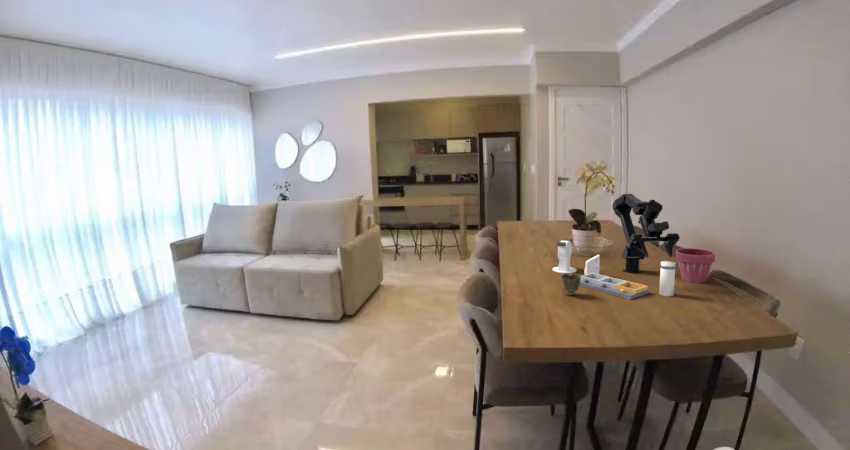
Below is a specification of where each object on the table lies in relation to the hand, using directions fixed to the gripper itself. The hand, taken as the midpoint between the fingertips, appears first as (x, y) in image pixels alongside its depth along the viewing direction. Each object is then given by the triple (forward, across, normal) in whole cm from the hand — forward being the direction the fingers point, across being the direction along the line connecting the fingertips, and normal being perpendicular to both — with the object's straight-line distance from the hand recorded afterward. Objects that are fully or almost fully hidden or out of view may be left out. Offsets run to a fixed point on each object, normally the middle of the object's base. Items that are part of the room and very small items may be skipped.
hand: (659, 256), depth 169 cm
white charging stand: (-12, -31, +31) cm, 46 cm away
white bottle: (+15, 0, +4) cm, 16 cm away
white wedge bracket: (-5, -21, +24) cm, 32 cm away
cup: (+15, -37, +5) cm, 40 cm away
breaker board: (+9, -19, +10) cm, 23 cm away
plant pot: (+2, +20, +18) cm, 27 cm away
